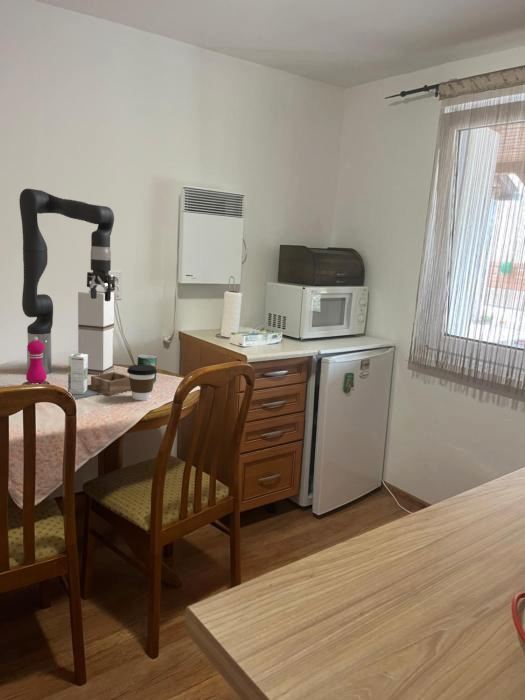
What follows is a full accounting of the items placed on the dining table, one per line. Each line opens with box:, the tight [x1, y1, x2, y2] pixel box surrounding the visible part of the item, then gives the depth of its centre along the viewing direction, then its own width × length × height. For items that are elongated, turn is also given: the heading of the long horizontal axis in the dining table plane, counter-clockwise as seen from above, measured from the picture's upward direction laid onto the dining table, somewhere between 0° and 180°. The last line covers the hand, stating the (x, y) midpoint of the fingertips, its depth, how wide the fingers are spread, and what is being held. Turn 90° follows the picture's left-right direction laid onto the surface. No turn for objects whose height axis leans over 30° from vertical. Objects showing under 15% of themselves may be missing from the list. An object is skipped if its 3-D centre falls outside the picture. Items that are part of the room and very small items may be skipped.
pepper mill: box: [25, 337, 47, 384], centre depth 204 cm, size 7×7×20 cm
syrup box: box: [67, 352, 88, 394], centre depth 200 cm, size 6×6×14 cm
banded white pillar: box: [77, 289, 115, 375], centre depth 232 cm, size 11×11×35 cm
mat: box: [72, 389, 101, 401], centre depth 201 cm, size 11×11×1 cm
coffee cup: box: [126, 364, 158, 401], centre depth 200 cm, size 11×11×12 cm
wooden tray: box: [87, 371, 132, 397], centre depth 210 cm, size 14×14×5 cm
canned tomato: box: [137, 353, 158, 383], centre depth 224 cm, size 8×8×11 cm
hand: (100, 299), depth 211 cm, fingers open, 8 cm apart
